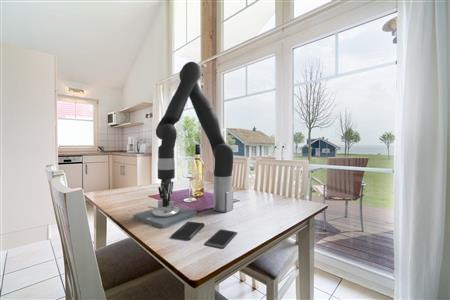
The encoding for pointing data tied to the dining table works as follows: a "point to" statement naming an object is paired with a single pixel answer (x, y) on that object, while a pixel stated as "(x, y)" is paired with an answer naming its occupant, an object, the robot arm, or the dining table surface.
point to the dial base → (164, 221)
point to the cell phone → (220, 239)
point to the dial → (164, 209)
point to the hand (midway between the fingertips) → (166, 205)
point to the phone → (188, 231)
